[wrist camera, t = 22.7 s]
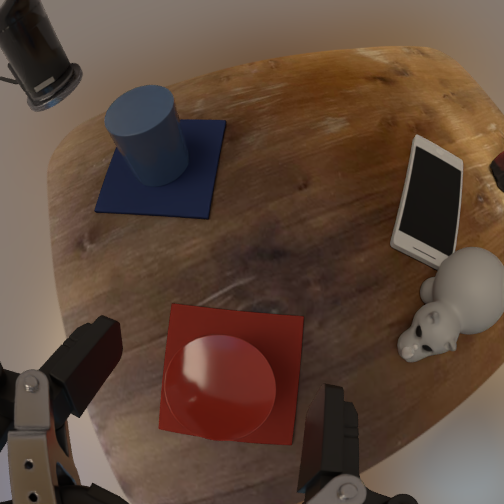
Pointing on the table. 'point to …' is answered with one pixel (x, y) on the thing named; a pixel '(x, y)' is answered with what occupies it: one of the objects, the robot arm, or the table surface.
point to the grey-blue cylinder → (149, 134)
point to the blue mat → (177, 192)
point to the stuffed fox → (498, 170)
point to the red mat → (260, 336)
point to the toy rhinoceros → (455, 303)
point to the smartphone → (429, 204)
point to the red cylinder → (220, 387)
